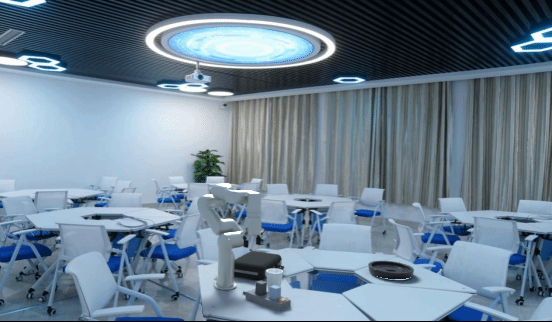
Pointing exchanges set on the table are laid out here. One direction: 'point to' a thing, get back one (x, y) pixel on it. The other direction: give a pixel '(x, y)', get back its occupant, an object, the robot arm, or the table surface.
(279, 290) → the block
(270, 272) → the foam cup
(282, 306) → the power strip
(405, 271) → the round tray
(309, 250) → the table surface
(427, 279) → the table surface
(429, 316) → the table surface
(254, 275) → the briefcase
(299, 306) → the table surface
